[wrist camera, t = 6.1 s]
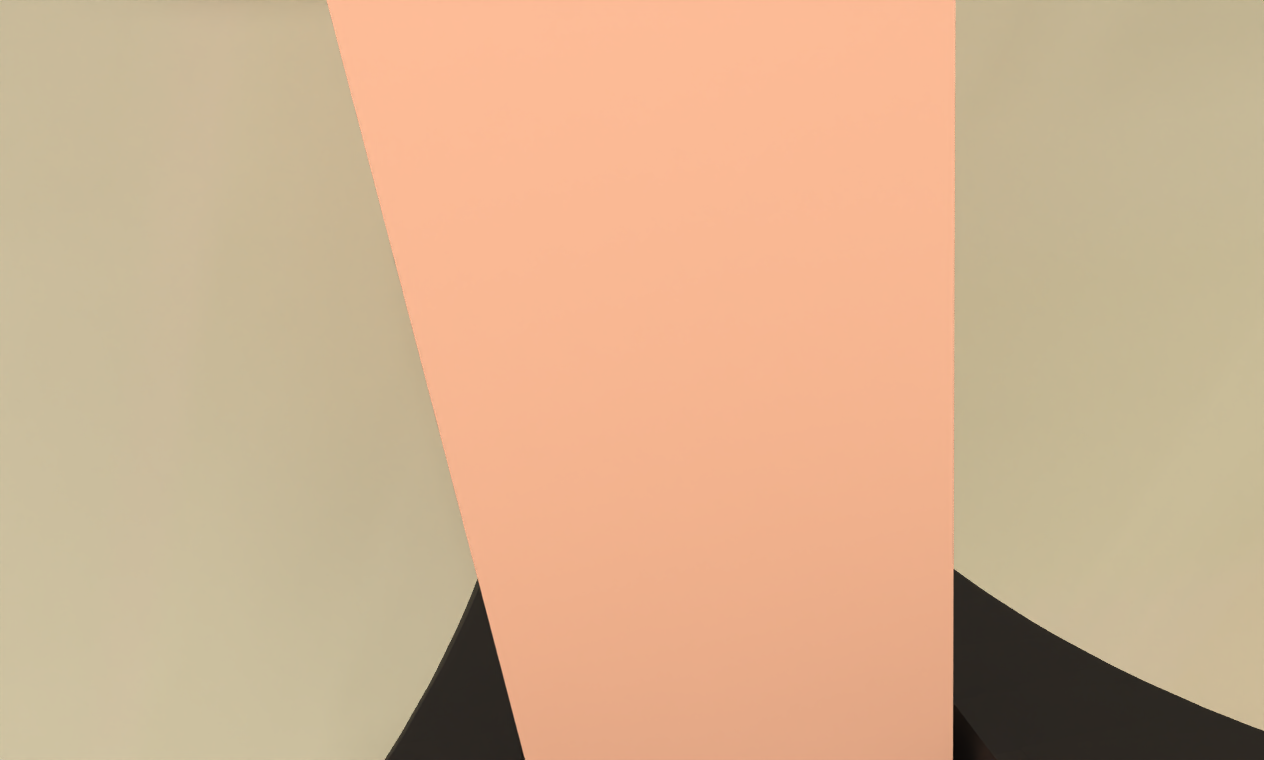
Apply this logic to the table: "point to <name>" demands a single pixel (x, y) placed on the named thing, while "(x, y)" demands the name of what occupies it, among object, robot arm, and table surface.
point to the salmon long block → (686, 355)
